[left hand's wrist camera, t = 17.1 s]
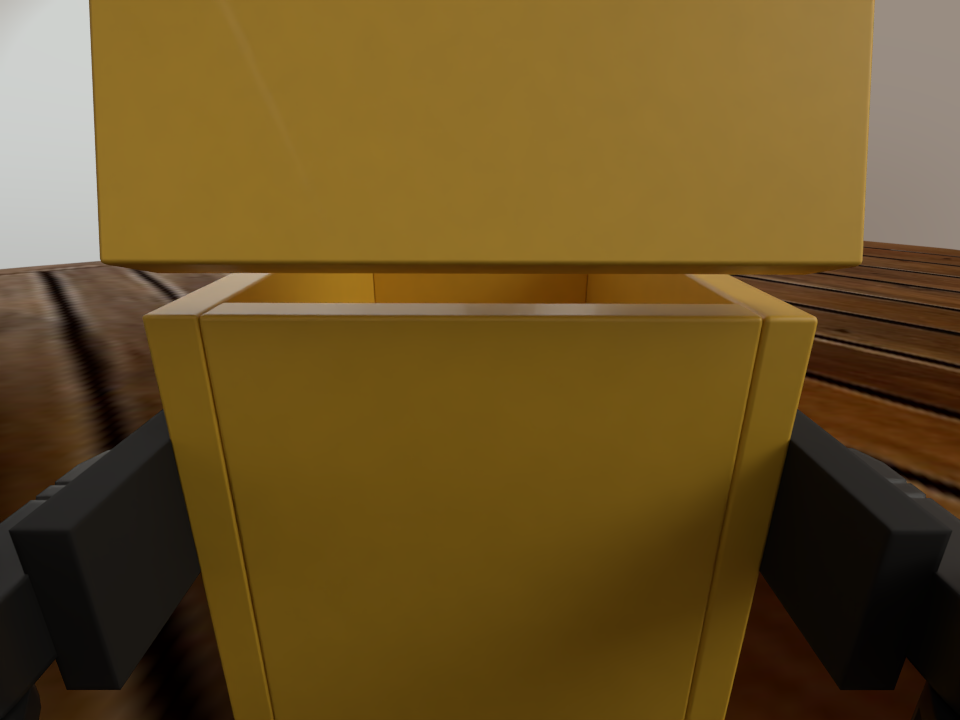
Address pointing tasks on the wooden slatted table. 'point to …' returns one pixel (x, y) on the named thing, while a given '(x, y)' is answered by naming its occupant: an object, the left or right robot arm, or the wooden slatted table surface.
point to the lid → (481, 135)
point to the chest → (479, 487)
